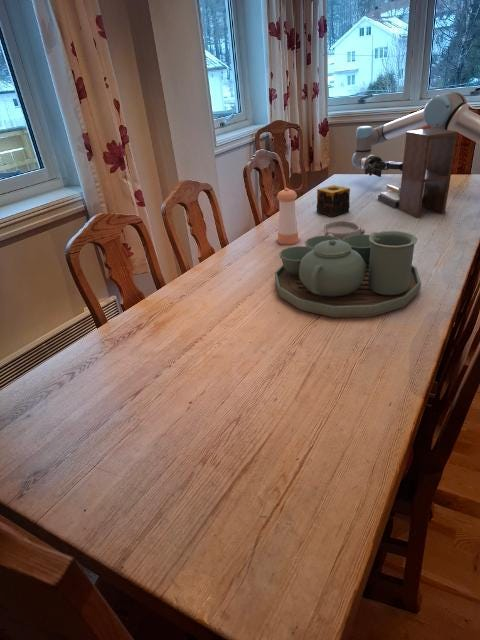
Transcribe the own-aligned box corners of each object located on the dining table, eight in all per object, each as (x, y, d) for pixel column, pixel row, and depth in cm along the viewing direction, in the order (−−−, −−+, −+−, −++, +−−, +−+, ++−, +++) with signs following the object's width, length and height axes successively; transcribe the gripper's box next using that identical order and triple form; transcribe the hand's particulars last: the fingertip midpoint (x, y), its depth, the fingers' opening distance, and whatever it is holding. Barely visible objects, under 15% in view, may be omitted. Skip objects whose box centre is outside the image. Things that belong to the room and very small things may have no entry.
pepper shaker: (302, 239, 158) (301, 186, 148) (289, 245, 153) (288, 191, 144) (286, 236, 162) (284, 184, 153) (274, 242, 158) (271, 189, 148)
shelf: (444, 213, 170) (457, 131, 155) (417, 217, 168) (427, 135, 153) (424, 204, 182) (434, 127, 167) (398, 208, 180) (406, 131, 165)
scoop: (419, 198, 180) (420, 189, 178) (406, 200, 179) (407, 191, 177) (394, 187, 198) (395, 179, 196) (382, 189, 197) (382, 181, 195)
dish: (330, 249, 148) (330, 235, 145) (315, 236, 159) (315, 223, 157) (369, 242, 150) (370, 228, 147) (352, 230, 161) (353, 217, 159)
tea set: (409, 258, 135) (415, 206, 127) (427, 323, 102) (437, 259, 94) (284, 257, 144) (282, 209, 136) (263, 317, 111) (259, 257, 103)
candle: (331, 217, 177) (332, 193, 172) (315, 212, 185) (315, 189, 180) (349, 212, 182) (351, 188, 177) (333, 207, 189) (334, 184, 184)
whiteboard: (425, 203, 183) (426, 196, 181) (395, 208, 181) (396, 200, 179) (406, 195, 196) (406, 188, 194) (377, 199, 194) (378, 192, 192)
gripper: (394, 168, 210) (419, 176, 192) (347, 175, 207) (367, 184, 189) (396, 152, 207) (421, 159, 189) (347, 158, 203) (369, 166, 185)
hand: (394, 171), depth 189 cm, fingers open, 13 cm apart
